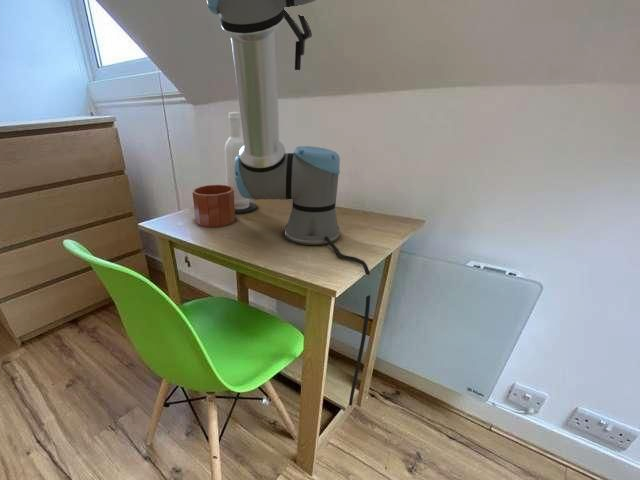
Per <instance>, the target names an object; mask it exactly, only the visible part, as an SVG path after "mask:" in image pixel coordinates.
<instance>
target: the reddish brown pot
mask: <svg viewBox="0 0 640 480" xmlns="http://www.w3.org/2000/svg"><path fill="white" fill-rule="evenodd" d="M191 193H192V200H193V201H192V202H193V210H194V217H195V223H196V224H197V225H198V226H200V227H205V228H206V227H207V228H219V227H224V226H228V225H231V224H233V223H234V222H236V214H235V206H234V189H233V187H231V186H228V185H227V184H206V185H202V186H198V187H196V188H194V189H192V192H191Z"/></svg>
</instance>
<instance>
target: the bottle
mask: <svg viewBox="0 0 640 480" xmlns="http://www.w3.org/2000/svg"><path fill="white" fill-rule="evenodd" d="M228 125H229V137H228V138H227V140H226V141H225V145H224V161H225V162H224V163H225V177H226V185H228V186H231V187H233V189H234V206H235V210H241V209H246V208H248V207H249V202H250V201H251V199H246V198H244V197H242V196H241V194H240V193H239V191H238V188H237V185H236V180H235V169H234V168H235V159H236V157H237V155H239V152H240V149H241V148H242V147H243V146H244V140H243V136H242V123H241V115H240V111H230V112H228Z"/></svg>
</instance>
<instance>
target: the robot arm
mask: <svg viewBox="0 0 640 480" xmlns="http://www.w3.org/2000/svg"><path fill="white" fill-rule="evenodd" d="M315 1H316V0H206V3H207V6H208V10H209V12H210V13H211V14H214V15H216V16H217V15H219V18H220V26H221V29H222V31H223V32H225V33H226V34H227V35H228V36H229V37H230V40H231V50H232V56H233V57H232V58H233V65H234V72H235V83H236V89H237V90H236V91H237V97H238V98H237V99H238V106H239V112H240V116H241V119H240V122H241V133H242V138H243V140H244V146H243V147H242V148H241V149H240V152H239V155H237V157H236V159H235V168H234V169H235V180H236V185H237V188H238V191H239V193H240V194H241V196H242V197H244V198H246V199H249V200H255V201H259V200H292V207H291V212H290V215H289V218H288V221H287V224H285V225H286V226H285V228H284V237H285V238H286V239H287V240H288V241H290V242H292V243H294V244H297V245H304V246H323V245H329V246H330V247H331V248H332V249H333V250H334V253H335V254H336V255H337V257H339V259H343V260H349V261H353V262H356V263H358V264H360V265H361V266H362V268H363V270H364V273H365V275H368V276H370V275H371V274H370V273H371V272H370V270H369V267H368V265H367V263H366V261H364V260H362V259H360V258H358V257H355V256H350V255H346V254H342V253H341V252H340V250H339V248H338V247H337V246H336V245H335V244H334V242H336V241H338V239H339V237H340V226H339V224H338V218H337V213H336V205H337V204H336V203H337V195H338V185H339V175H340V174H341V170H340V165H341V164H340V163H341V158H340V155H339V154H338V153H337V152H336V151H335V150H332V149H329V148H324V147H318V146H308V145H298V146H296V147H294V150H293V152H286V148H285V144H283V143H282V142H281V141H280V131H279V130H280V129H279V126H280V125H279V92H278V91H279V90H278V89H279V88H278V85H279V84H278V49H277V48H278V46H277V45H278V44H277V30H278V28H279V27H280V25H281V24H282V23H283V21H284V20H285V21H286V22H287V24H288V26H289V27H290V28H291V30H292V32H293V33H294V35H295V36H296V38H297V40H296V41H295V53H294V71H301V63H302V56H305V46H306V45H305V44H306V41H307V40H308V39H310V38H312V36H313V32H312V29H311V28H310V27H311V26H310V24H309V22H308V23H307V21H308V20H307V21H306V20H305V18H304V16H300V15H298V14H297V17H298V19H299V22H300V25H301V28H302V30H301V28H300V26H299V25H298V24H297V22H296V20H295V19H294V18H293V19H294V20H295V21H294V20H293V19H292V18H291V17H290V15H289V14H288V13H287V12H286V11H285V10H284V7H295V6H298V5H302V6H303V5H307V4H310V3H313V2H315ZM295 22H296V23H295ZM308 24H309V25H308ZM370 306H371V294H369V295H367V296H365V309H364V318H363V327H362V333H361V339H360V340H361V341H360V345H359V349H358V355H357V360H356V365H355V370H354V375H353V380H352V384H351V389H350V396H349V401H348V405H349V406H350V407H351V406H352V405H353V401H354V396H355V390H356V385H357V382H358V376H359V371H360V367H361V362H362V357H363V353H364V347H365V344H366V343H365V342H366V337H367V331H368V323H369V316H370Z"/></svg>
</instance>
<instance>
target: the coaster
mask: <svg viewBox="0 0 640 480" xmlns="http://www.w3.org/2000/svg"><path fill="white" fill-rule="evenodd" d="M257 208H258V206H257V204H256V203H254V202H249V207H248V208H246V209H241V210H235V215H242V214H249V213H252V212H254V211H256V210H257Z"/></svg>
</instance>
